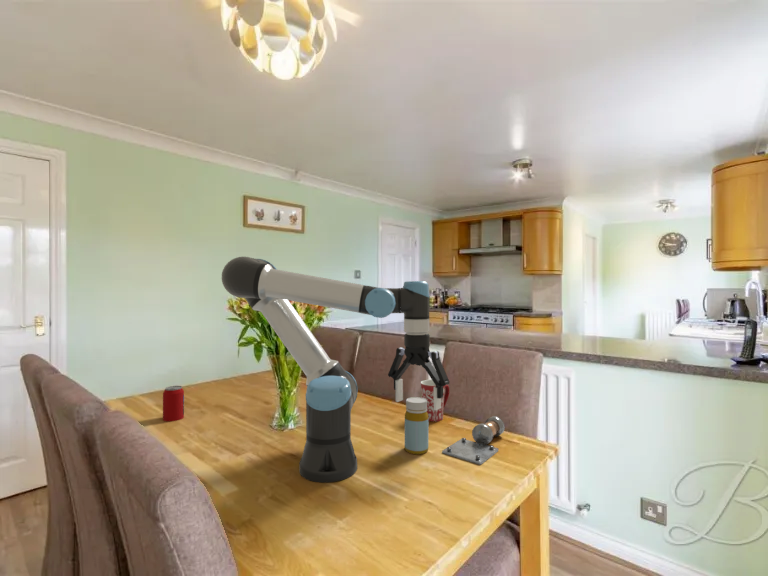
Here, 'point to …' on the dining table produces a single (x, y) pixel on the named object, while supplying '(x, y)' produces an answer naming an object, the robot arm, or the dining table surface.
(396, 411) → the dining table surface
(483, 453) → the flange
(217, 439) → the dining table surface
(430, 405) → the mug
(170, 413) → the beverage can
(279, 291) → the robot arm
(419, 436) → the bottle
